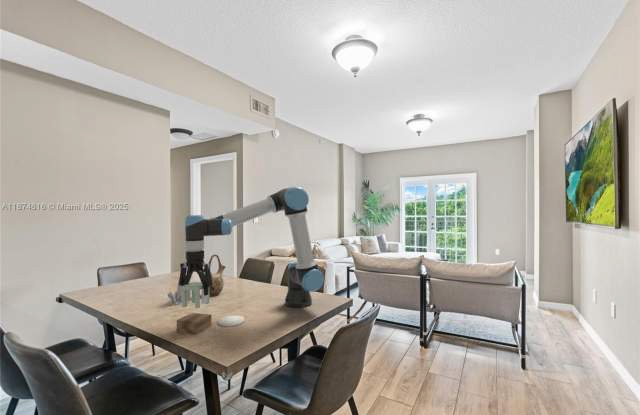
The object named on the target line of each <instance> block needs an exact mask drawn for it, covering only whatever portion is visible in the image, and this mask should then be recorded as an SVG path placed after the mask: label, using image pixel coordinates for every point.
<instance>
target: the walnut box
mask: <svg viewBox="0 0 640 415" xmlns="http://www.w3.org/2000/svg"><path fill="white" fill-rule="evenodd" d="M210 327H212V314H209V313H208V314H207V313H199V312H198V313H197V312H191V313H188V314H187V315H185V316H183V317H181V318H179V319H177V320H176V333H181V334H188V335H189V334H191V335H199V334H200V333H202V332H204V331H205V330H206V329H207V330H208V329H209V328H210Z"/></svg>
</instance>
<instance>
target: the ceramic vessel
mask: <svg viewBox="0 0 640 415" xmlns="http://www.w3.org/2000/svg"><path fill="white" fill-rule="evenodd" d="M214 257H216V259H217V262H218V269H217V271H216V272H215V273H214V274H213V273H212V272H211V278H212V283H213V285H212V286H210V287H209V297H214V296H218V295H220V294H221V293H222V291H223V289H224V286H225V281H224V278H223V272H224V271H225V269H226V267H227V266H225V265H223V264H222V263H221V260H220V257H219V255H218V254H215V253H214V254H213V255H211V257H210V258H209V261H208V263H210V267H211V265H212V262H213V258H214Z"/></svg>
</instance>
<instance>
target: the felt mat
mask: <svg viewBox="0 0 640 415" xmlns="http://www.w3.org/2000/svg"><path fill="white" fill-rule="evenodd" d="M245 321H246V318H245V317H244V316H241V315H229V316H228V315H227V316H224V317H221V318H219V319H218V321H217V324H218V326H221V327H236V326H240V325H242V324H243V323H245Z"/></svg>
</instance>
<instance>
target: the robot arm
mask: <svg viewBox="0 0 640 415" xmlns="http://www.w3.org/2000/svg"><path fill="white" fill-rule="evenodd" d="M308 204H309V194H308V192H307V191H306V190H305V189H304V188H302V187H299V186H291V187H287V188H282V189H281V190H279V191H277V192H275V193H273V194H270V195H267V197H266V198H265V199H262V200H259V201H257V202H254V203H251V204H248V205H246V206H243V207H240V208H238V209H235V210H231V211H229V212H226V213H224V214H221V215H219V216H216V217H211V218H209V219H205V218H204V215H202V214H198V215H197V214H192V215H191V214H190V215H186V217H185V224H184V225H185V226H184V229H185V231H184V232H185V235H184V236H185V250H186V252H185V260H186V262H181V263H180V264H179V266H180V272H179V278H180V279H179V278H178V282H179V285H180V286H184V285H187V284H190V283H191V279H192V276H193V273H194V272H196V274H197V275H198V278H199V280H200V282H201V283H202V285H203V288H202V289H201V304H205V303H206V302H207V295H208V294H209V293H208V288H209V287H210V286H212V285H213V283H212V278H211V273H212V272H211V266H210V263H209V262H208V263H206V262H205V260H204V259H205V250H204V249H205V237H212V236H217V237H218V236H228V235H231V234H232V232H233V227H236V226H240V225H241V224H244V223H247V222H249V221H251V220H254V219H256V218H259V217H260V218H261V217H263V216H265V215H268V214H270V213H273V214H275V213H278V212H281V211H283V212H284V216H285V217H287V219H288V221H289V227H290V231H291V236H292V242H293V246H294V251H295V256H296V262H290V263H289V264H288V267H287V293H286V295H285V299H284V305H285V306H286V307H290V308H306V307H309V306H311V305H312V304H313V299H312V295H311V292H312V293H313V292H317V291H318V290H319V289H320V288H321V287H322V286H323V283H324V280H325V277H324V273H323V272H322V271H321V270H319V264H318V262H317V261H316V260H315V258H314V254H313V249H312V244H311V239H310V232H309V227H308V224H307V217H306V214H307V213H308V208H307V206H308ZM190 301H191V290H187V302H188V303H189V302H190Z"/></svg>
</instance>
